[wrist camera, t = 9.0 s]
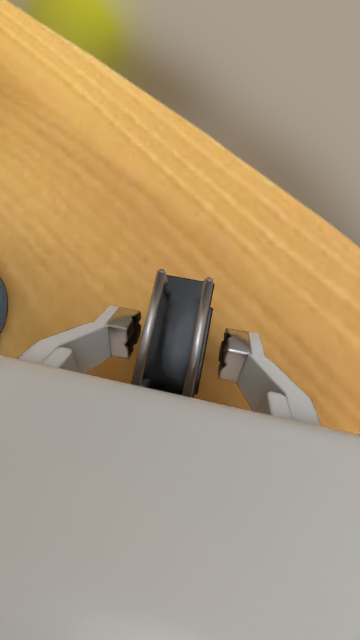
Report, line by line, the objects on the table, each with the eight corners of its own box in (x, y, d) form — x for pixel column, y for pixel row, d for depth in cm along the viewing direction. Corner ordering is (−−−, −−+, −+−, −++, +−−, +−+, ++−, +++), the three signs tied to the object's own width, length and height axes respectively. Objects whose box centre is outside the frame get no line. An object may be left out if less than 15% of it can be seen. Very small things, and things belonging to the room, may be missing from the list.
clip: (196, 388, 14) (205, 433, 6) (153, 379, 14) (104, 409, 6) (209, 315, 15) (234, 263, 7) (169, 308, 15) (144, 249, 7)
